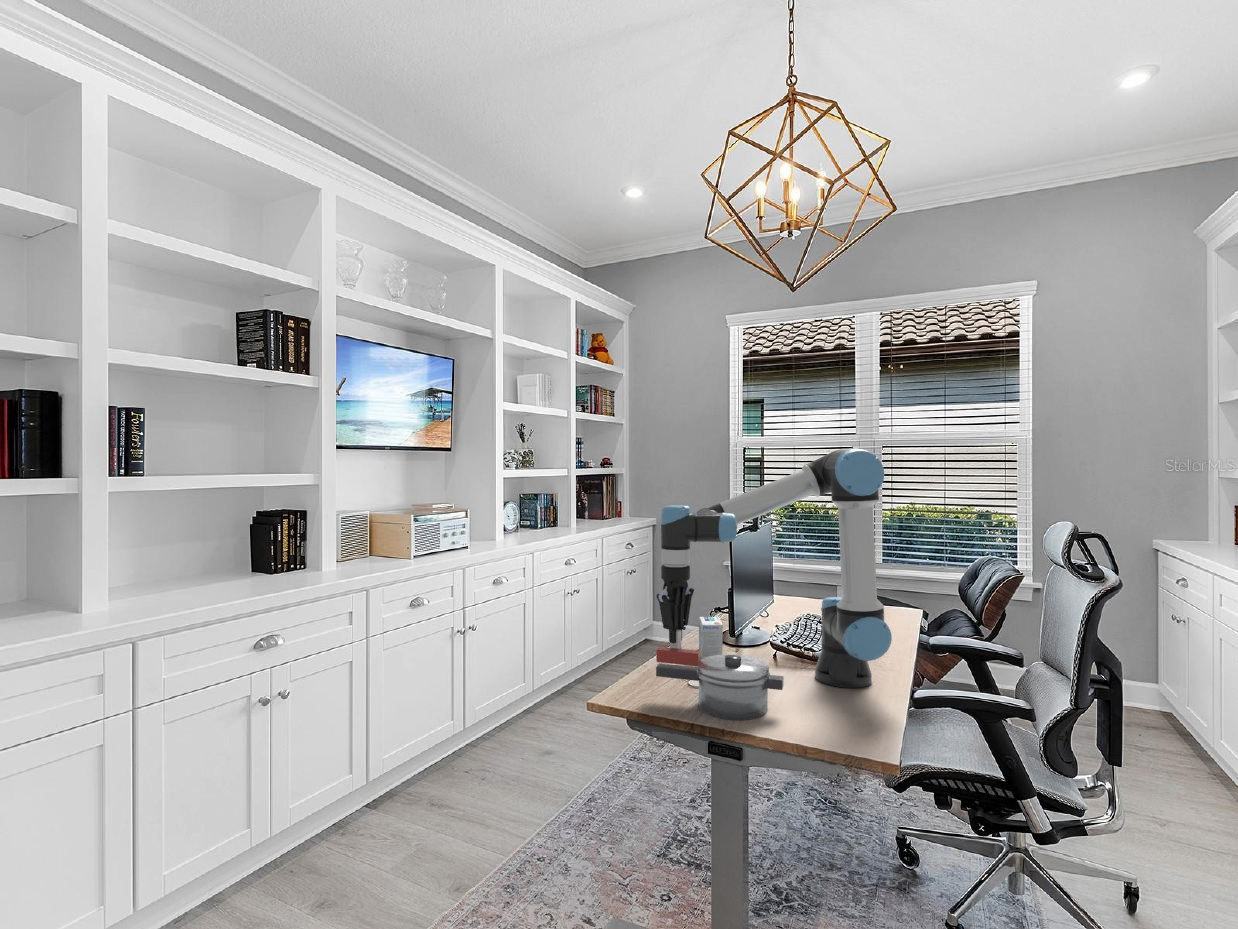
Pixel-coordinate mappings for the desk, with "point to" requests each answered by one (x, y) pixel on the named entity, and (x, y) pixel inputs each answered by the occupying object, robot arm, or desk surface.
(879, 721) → the desk surface
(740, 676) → the lid
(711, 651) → the light bulb box
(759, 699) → the cooker pot
